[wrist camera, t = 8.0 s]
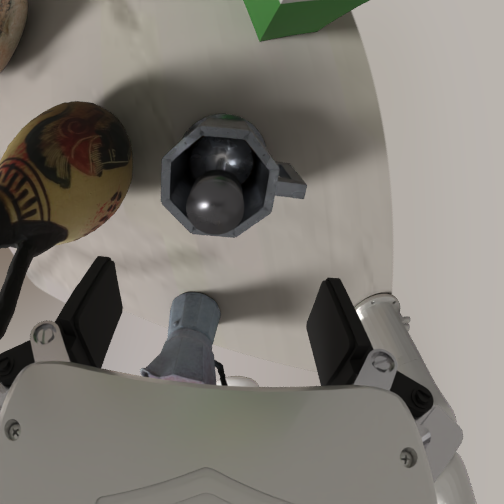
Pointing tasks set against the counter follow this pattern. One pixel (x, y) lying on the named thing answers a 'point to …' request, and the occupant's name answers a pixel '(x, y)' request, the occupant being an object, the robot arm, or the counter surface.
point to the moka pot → (189, 343)
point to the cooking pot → (11, 27)
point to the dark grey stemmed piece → (218, 183)
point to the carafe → (254, 187)
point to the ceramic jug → (59, 185)
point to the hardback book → (295, 15)
